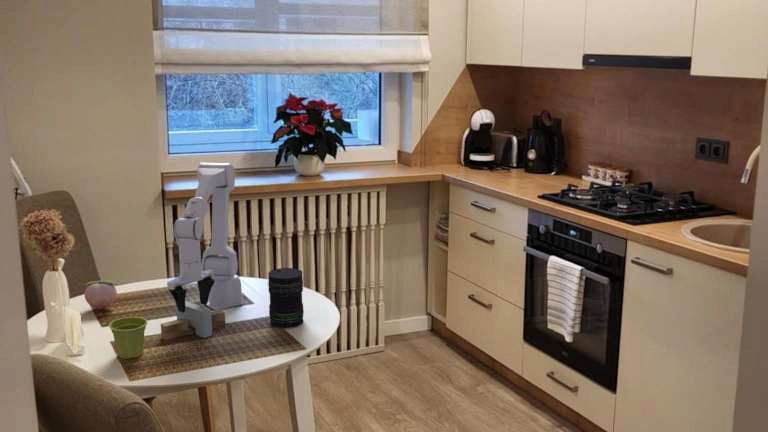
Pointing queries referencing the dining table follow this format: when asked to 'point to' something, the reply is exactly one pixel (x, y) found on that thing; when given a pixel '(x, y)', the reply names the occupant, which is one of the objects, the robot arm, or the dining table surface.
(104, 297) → the decorative fruit
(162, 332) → the base rail
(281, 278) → the camera lens
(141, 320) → the plant pot
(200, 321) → the crosspiece
